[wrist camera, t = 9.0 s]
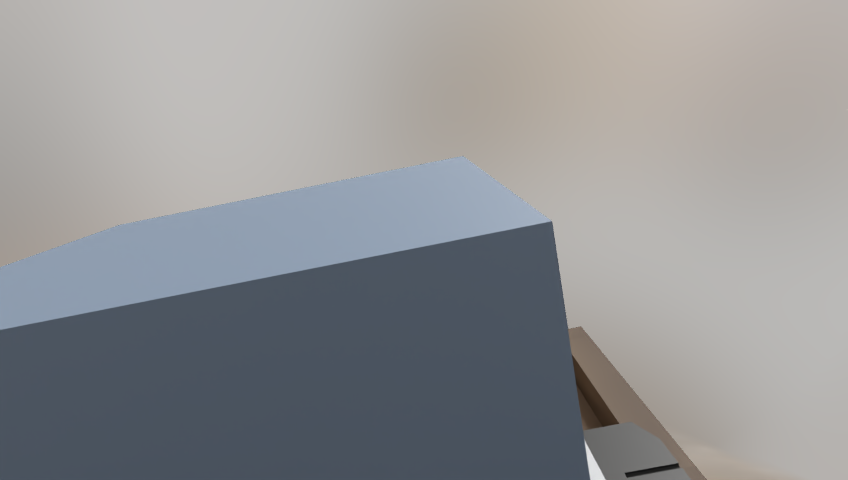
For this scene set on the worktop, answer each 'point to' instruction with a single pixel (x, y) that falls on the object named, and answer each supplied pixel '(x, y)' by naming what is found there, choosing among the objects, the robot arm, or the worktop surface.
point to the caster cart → (614, 397)
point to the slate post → (298, 341)
